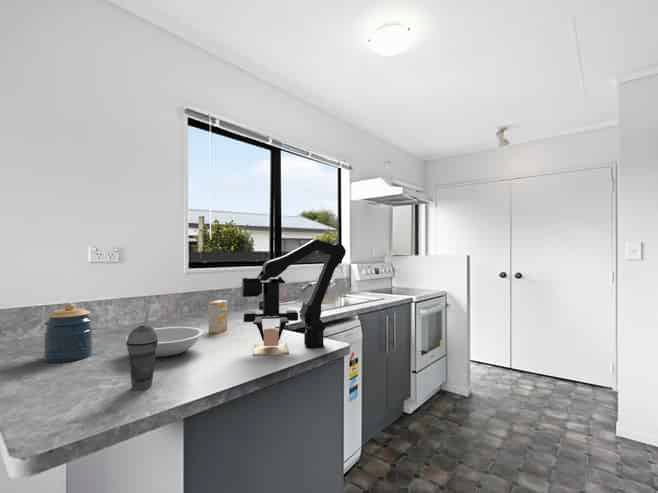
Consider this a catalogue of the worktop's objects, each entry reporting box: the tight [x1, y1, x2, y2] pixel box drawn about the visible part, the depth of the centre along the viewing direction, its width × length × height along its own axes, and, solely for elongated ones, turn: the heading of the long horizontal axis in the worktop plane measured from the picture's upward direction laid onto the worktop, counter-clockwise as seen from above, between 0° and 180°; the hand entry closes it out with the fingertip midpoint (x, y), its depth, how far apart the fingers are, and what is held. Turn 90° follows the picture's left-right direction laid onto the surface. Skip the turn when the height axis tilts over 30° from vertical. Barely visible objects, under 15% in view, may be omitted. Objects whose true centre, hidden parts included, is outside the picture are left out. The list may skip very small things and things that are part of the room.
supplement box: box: [208, 299, 229, 334], centre depth 153 cm, size 8×5×13 cm, turn 168°
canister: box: [42, 302, 94, 363], centre depth 115 cm, size 13×13×18 cm
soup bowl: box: [125, 326, 205, 357], centre depth 119 cm, size 24×24×7 cm
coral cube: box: [263, 327, 279, 346], centre depth 125 cm, size 5×5×5 cm
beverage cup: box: [125, 308, 158, 391], centre depth 90 cm, size 7×7×20 cm
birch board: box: [252, 342, 290, 357], centre depth 125 cm, size 12×12×1 cm
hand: (270, 340), depth 125 cm, fingers closed on coral cube, 5 cm apart
